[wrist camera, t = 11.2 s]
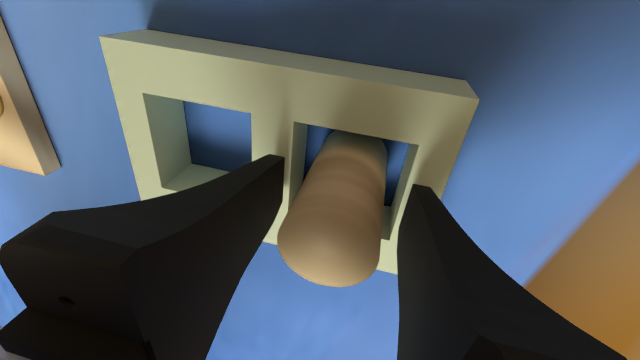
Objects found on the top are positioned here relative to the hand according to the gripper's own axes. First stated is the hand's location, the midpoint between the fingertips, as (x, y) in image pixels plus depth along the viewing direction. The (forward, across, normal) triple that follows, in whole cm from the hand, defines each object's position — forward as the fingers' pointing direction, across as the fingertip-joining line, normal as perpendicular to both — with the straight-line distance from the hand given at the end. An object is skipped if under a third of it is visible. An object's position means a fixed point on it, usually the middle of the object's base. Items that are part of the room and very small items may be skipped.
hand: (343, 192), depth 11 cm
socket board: (+3, +3, 0) cm, 4 cm away
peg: (+3, 0, 0) cm, 3 cm away
